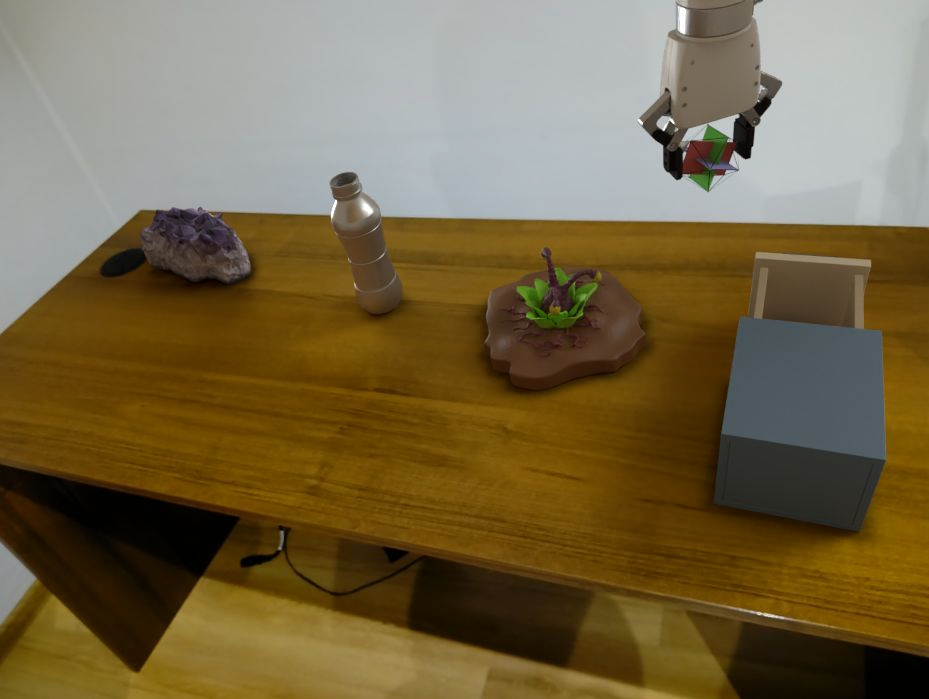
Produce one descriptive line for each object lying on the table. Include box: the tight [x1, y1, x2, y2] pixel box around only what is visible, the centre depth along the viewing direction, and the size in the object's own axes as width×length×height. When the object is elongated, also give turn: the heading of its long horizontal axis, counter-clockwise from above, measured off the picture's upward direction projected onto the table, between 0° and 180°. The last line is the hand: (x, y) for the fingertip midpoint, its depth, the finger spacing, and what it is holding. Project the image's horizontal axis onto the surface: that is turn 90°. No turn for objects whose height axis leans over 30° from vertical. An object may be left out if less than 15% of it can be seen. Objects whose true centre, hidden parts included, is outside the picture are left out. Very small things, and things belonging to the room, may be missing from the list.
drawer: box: [747, 251, 872, 329], centre depth 78 cm, size 19×11×9 cm, turn 159°
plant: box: [483, 247, 647, 391], centre depth 87 cm, size 20×20×11 cm
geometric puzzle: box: [679, 123, 740, 194], centre depth 86 cm, size 7×7×8 cm
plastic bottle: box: [328, 171, 404, 315], centre depth 94 cm, size 6×7×20 cm
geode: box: [139, 206, 253, 285], centre depth 114 cm, size 20×12×10 cm, turn 60°
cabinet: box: [713, 316, 887, 533], centre depth 68 cm, size 16×13×11 cm
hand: (707, 163), depth 86 cm, fingers closed on geometric puzzle, 8 cm apart
